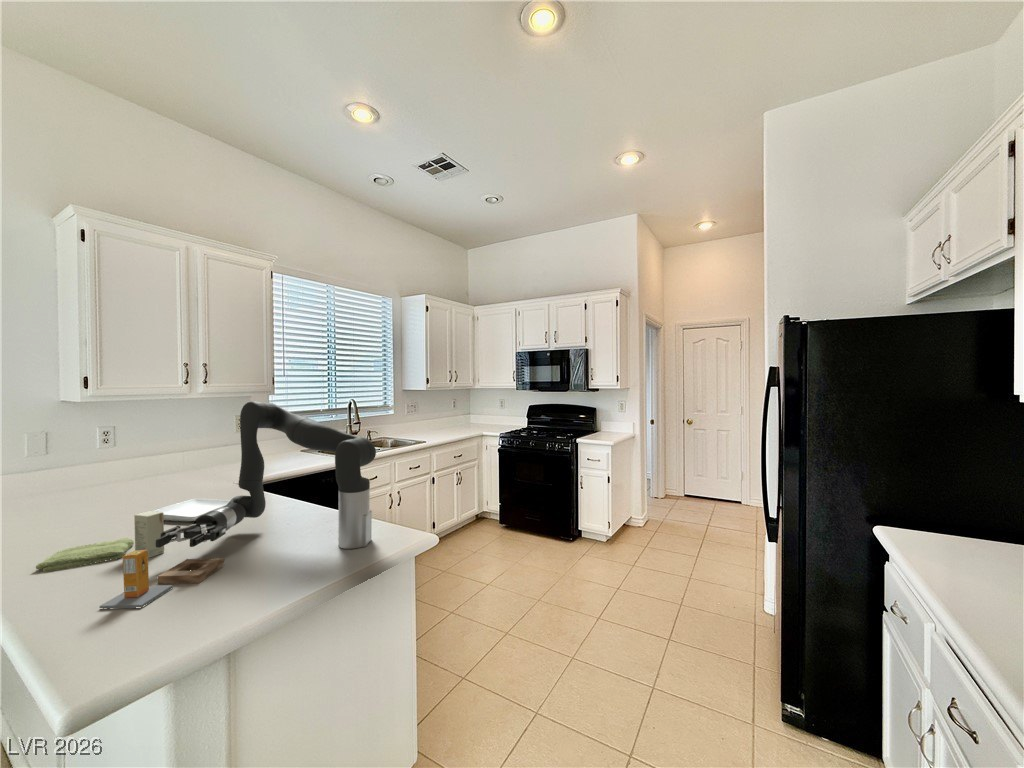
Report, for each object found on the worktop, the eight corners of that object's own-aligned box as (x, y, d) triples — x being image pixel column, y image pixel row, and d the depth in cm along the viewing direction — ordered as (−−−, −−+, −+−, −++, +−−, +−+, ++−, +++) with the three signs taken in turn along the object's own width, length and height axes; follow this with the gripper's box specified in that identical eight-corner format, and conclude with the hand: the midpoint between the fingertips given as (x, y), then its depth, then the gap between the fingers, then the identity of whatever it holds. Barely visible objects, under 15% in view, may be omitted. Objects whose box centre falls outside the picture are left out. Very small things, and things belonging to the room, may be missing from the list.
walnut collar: (224, 565, 113) (224, 558, 113) (198, 582, 103) (198, 575, 103) (186, 566, 113) (186, 559, 113) (157, 584, 103) (157, 576, 103)
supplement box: (134, 591, 98) (134, 549, 98) (149, 590, 98) (149, 549, 98) (122, 598, 94) (122, 555, 94) (137, 598, 94) (138, 554, 94)
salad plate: (240, 507, 168) (240, 499, 168) (194, 525, 147) (194, 515, 147) (193, 505, 170) (193, 497, 170) (142, 523, 149) (142, 513, 149)
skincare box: (164, 552, 122) (165, 512, 122) (147, 558, 118) (148, 516, 118) (150, 550, 124) (151, 509, 124) (133, 555, 120) (133, 514, 120)
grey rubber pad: (172, 588, 101) (172, 585, 101) (141, 608, 92) (141, 604, 92) (134, 589, 100) (134, 586, 100) (99, 609, 91) (99, 606, 91)
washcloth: (54, 558, 119) (54, 547, 119) (135, 545, 128) (135, 535, 128) (33, 575, 108) (33, 563, 108) (123, 561, 117) (123, 549, 117)
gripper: (190, 510, 123) (145, 529, 106) (239, 510, 123) (202, 528, 107) (190, 535, 123) (145, 558, 106) (239, 534, 123) (202, 557, 107)
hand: (174, 543), depth 107 cm, fingers open, 8 cm apart
